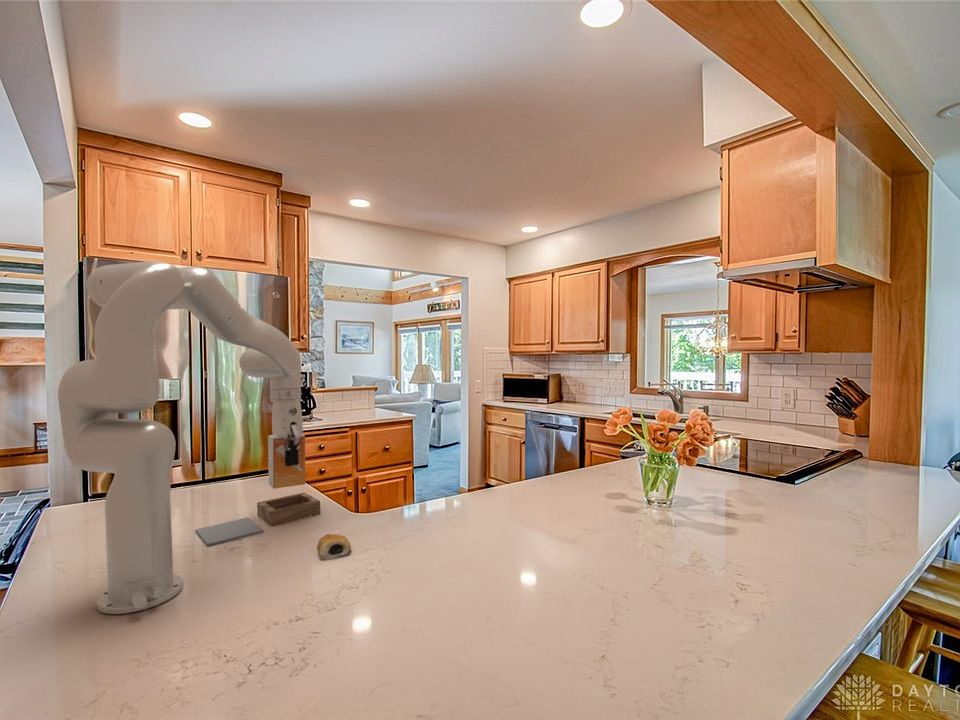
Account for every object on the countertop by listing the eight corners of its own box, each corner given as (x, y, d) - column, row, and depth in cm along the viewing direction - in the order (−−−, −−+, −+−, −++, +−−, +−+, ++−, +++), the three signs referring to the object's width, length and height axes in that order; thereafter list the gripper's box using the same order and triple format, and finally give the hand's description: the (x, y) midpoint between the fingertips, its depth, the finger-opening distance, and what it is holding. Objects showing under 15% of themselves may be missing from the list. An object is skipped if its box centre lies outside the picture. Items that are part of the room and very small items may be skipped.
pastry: (313, 546, 107) (313, 529, 107) (344, 540, 110) (344, 524, 110) (320, 562, 99) (320, 544, 98) (353, 556, 102) (353, 538, 102)
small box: (273, 489, 121) (272, 438, 121) (268, 484, 127) (267, 435, 126) (306, 484, 126) (305, 435, 126) (300, 479, 131) (299, 432, 131)
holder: (320, 514, 127) (320, 500, 127) (271, 526, 119) (271, 512, 119) (304, 504, 135) (304, 492, 135) (257, 515, 127) (257, 502, 127)
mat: (263, 532, 115) (263, 529, 115) (207, 546, 107) (207, 544, 107) (248, 519, 124) (248, 517, 124) (195, 532, 116) (195, 529, 116)
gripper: (313, 396, 122) (314, 466, 122) (287, 392, 135) (288, 456, 135) (283, 398, 117) (284, 470, 117) (259, 394, 130) (260, 460, 130)
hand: (286, 462), depth 126 cm, fingers closed on small box, 6 cm apart
